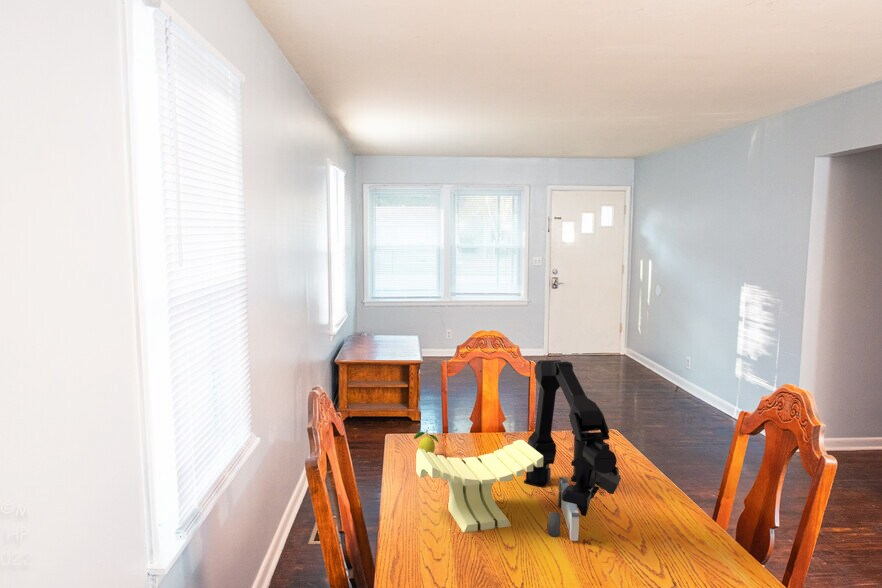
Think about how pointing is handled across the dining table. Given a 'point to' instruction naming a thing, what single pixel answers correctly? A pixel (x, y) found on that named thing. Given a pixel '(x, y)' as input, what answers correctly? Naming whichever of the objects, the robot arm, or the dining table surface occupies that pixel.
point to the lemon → (426, 442)
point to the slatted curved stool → (478, 481)
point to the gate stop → (554, 524)
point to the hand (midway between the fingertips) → (583, 515)
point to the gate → (570, 516)
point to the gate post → (561, 480)
